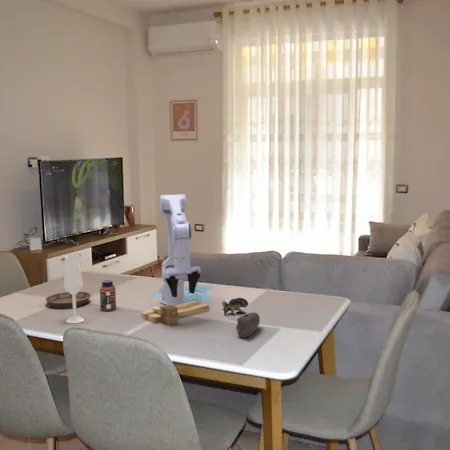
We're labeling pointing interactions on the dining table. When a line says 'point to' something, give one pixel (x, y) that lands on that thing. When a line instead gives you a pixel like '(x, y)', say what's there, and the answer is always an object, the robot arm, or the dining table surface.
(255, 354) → the dining table surface
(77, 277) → the champagne flute
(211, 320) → the dining table surface
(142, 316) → the board
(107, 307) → the supplement bottle
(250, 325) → the perforated stone tool
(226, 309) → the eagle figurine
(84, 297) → the plant saucer
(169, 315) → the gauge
